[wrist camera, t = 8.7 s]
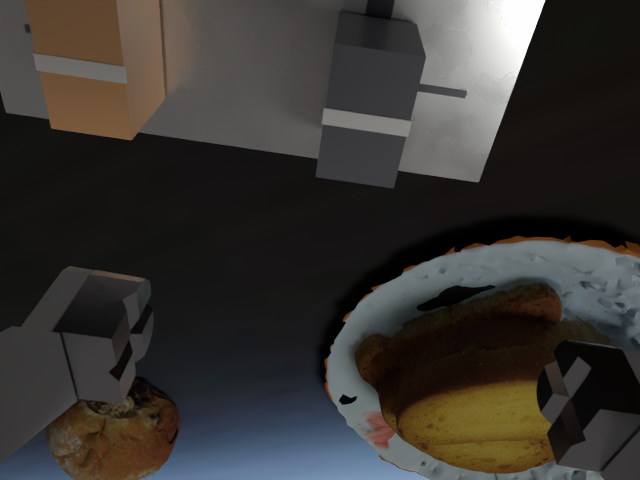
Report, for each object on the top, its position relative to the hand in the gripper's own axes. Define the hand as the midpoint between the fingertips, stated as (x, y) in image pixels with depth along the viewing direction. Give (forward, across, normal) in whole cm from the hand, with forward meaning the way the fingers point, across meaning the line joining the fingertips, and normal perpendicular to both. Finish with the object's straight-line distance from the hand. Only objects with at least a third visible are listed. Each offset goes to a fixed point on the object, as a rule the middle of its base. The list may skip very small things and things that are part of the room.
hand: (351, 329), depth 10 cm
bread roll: (+18, +14, +31) cm, 39 cm away
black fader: (+14, 0, 0) cm, 14 cm away
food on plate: (+18, -14, +20) cm, 30 cm away
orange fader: (+14, +10, 0) cm, 17 cm away
